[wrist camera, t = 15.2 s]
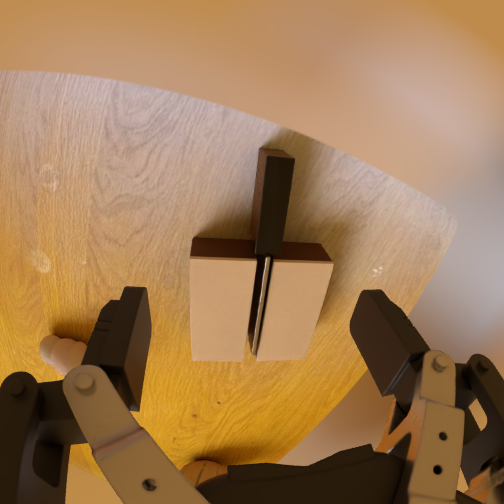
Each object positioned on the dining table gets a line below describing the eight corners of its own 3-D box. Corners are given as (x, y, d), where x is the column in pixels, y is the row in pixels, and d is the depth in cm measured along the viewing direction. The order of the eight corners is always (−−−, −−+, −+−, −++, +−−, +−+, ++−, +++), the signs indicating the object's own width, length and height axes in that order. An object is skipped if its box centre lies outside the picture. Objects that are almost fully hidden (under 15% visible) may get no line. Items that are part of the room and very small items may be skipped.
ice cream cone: (120, 407, 30) (28, 366, 29) (132, 395, 36) (48, 361, 35) (127, 364, 32) (34, 326, 31) (139, 357, 38) (54, 325, 37)
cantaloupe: (245, 462, 61) (252, 512, 48) (201, 473, 63) (204, 518, 50) (209, 447, 54) (213, 506, 41) (163, 458, 56) (162, 510, 43)
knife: (259, 147, 27) (267, 156, 22) (283, 150, 27) (296, 159, 23) (239, 326, 37) (242, 355, 33) (257, 326, 37) (263, 355, 33)
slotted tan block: (192, 237, 30) (189, 258, 27) (320, 243, 33) (334, 263, 29) (192, 335, 37) (191, 361, 33) (297, 335, 39) (305, 359, 35)
